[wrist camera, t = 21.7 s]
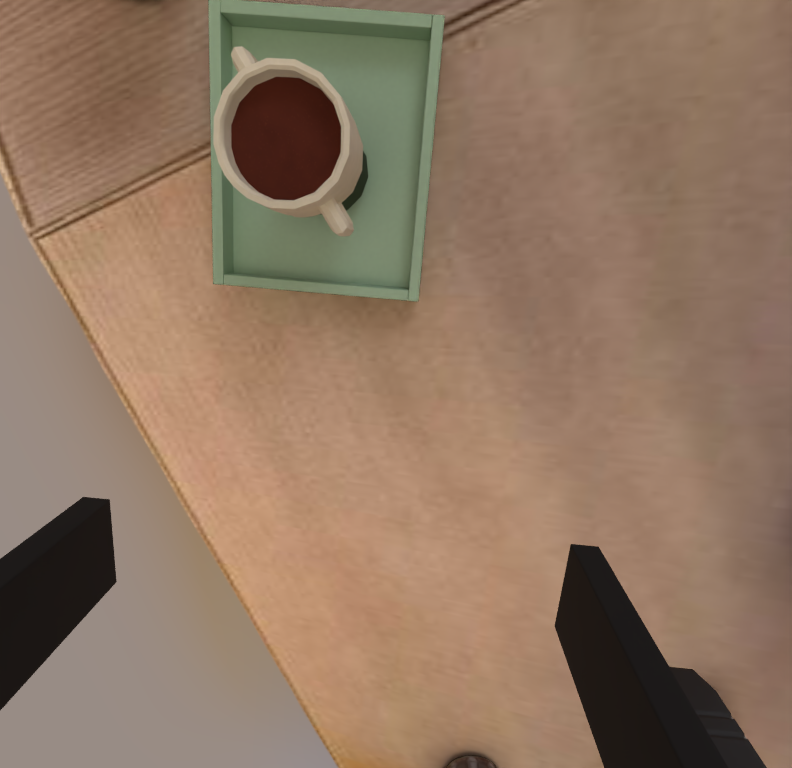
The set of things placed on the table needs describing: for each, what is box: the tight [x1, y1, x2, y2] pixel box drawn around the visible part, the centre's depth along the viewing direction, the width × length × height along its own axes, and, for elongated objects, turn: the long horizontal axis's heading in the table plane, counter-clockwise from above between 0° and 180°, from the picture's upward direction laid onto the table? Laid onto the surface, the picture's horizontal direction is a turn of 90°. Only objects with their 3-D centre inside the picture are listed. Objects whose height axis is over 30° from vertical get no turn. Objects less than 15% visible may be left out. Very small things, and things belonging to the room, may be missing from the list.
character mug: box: [213, 46, 368, 237], centre depth 31 cm, size 11×7×13 cm, turn 30°
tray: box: [208, 0, 445, 302], centre depth 37 cm, size 16×19×3 cm
